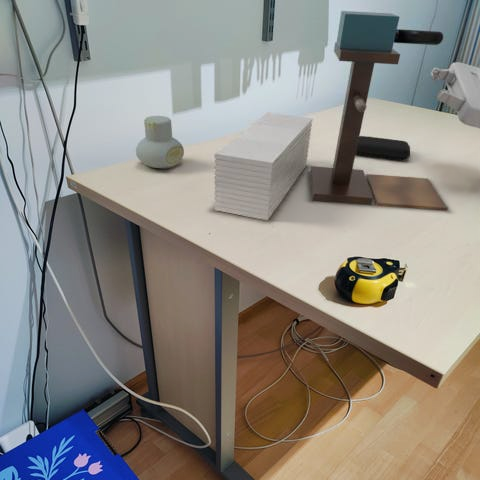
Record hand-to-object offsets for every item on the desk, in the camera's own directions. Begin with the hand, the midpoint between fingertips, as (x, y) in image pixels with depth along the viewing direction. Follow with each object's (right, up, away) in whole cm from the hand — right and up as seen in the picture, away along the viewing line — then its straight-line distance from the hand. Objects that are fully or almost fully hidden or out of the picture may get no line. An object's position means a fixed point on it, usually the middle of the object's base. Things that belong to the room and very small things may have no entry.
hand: (435, 83), depth 88 cm
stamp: (-14, -1, -12) cm, 19 cm away
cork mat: (-5, -22, +4) cm, 23 cm away
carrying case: (-4, -5, +24) cm, 25 cm away
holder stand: (-19, -20, +5) cm, 28 cm away
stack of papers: (-35, -20, +4) cm, 41 cm away
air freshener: (-59, -13, +11) cm, 62 cm away
